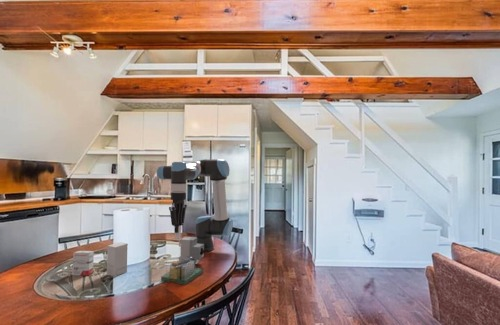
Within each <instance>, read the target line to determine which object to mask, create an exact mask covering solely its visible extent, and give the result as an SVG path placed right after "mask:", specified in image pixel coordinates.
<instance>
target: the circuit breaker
mask: <svg viewBox="0 0 500 325" xmlns="http://www.w3.org/2000/svg"><path fill="white" fill-rule="evenodd" d="M178 247H180V255H179V256H178V261H179V260H182V259H185V258H187V256H188V257H194V260H191V261H195V264H196V263H197V261H199V260H201V259H202V258H204V254H205V253H206V251H205V250H204V244H197V237H196V236H183V237H182V238H181V239H179V244H178Z"/></svg>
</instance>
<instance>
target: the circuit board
mask: <svg viewBox="0 0 500 325" xmlns="http://www.w3.org/2000/svg"><path fill="white" fill-rule="evenodd" d="M178 261H180V260H179V259H178ZM171 265H172V263H171V264H170V265H169V272H167V273H165V274H163V275H162V276H160V281H161V282H168V283H175V284H180V285H185V286H186V285H188V284H189V283H191V281H193V280H194V279H196V278H197V277H199V276H200V275H202V274H203V273H204V268H199V267H196V263H195V261H188V262H186V263H184V264H181V265H179V266H171Z"/></svg>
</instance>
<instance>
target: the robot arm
mask: <svg viewBox="0 0 500 325" xmlns="http://www.w3.org/2000/svg"><path fill="white" fill-rule="evenodd" d="M229 175H230V166H229V163H228V161H227V160H225V159H219V158H218V159H217V158H214V159H207V158H206V159H199V160H195V161H191V162H190V163H186V161H185V162H184V161H173V162H171V165H160V166H158V168H156V177H157V178H158V179H159V180H170V181H171V182H170V183H171V184H170V192H171V193H170V200H171V201H172V203H171V206H168V209H169V212H170V214H169V215H170V221H171V226H173V227H174V239H175V240H180V239H181V236H182V235H181V234H182V226H184V224H185V223H184V222H185V216H186V210H187V208H188V205H187V204H185V201H186V199H187V181H192V180H196V179H197V178H198V177H199V176H200V177H209V180H210V182H211V184H212V186H211V187H212V196H213V199H212V200H213V208H214V215H204V216H203V215H202V216H199V217H196V219H195V237H197V244H204V250H205V252H211V251H213V250H214V249H215V245H214V240H213V236H218V237H220V236H221V237H229V236H230V235H231V233H232V230H233V225H234V222H233V219H231V218H230V214H228V210H227V209H228V208H227V207H228V206H227V194H226V181H227V179H228V177H229Z"/></svg>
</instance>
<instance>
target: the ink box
mask: <svg viewBox="0 0 500 325" xmlns="http://www.w3.org/2000/svg"><path fill="white" fill-rule="evenodd" d="M72 255H73V256H72V276H84V277H85V276H87V277H89V276H90V275H91V274H93V273H94V261H95V260H94V259H95V258H94V256H95V251H94V250H77V251H75V252H73V254H72Z"/></svg>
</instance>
